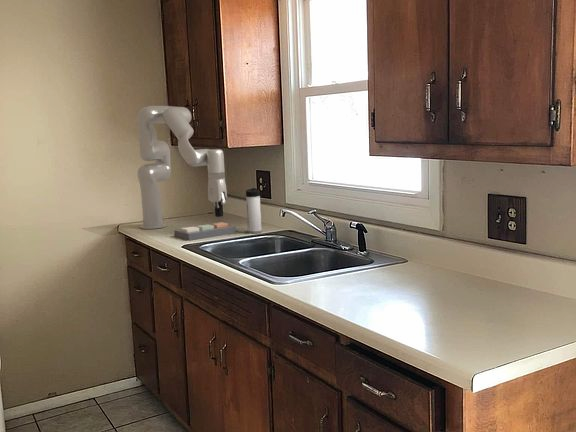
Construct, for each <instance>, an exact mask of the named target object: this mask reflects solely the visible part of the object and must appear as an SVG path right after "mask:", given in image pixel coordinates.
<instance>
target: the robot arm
mask: <svg viewBox="0 0 576 432" xmlns="http://www.w3.org/2000/svg"><path fill="white" fill-rule="evenodd" d="M191 121H192V113H191V111H190V110H189V109H188V108H187V107H184V106H172V105H148V106H144V107H142V108H140V110H139V111H138V112H137V115H136V124H137V125H136V126H137V130H138V141H139V143H138V147H139V156H140V159H141V160H143V161H145V162H149V161H150V162H151V163H145V164H142V165H140V167H138V169H137V174H136V175H137V179H138V183H139V187H140V197H141V209H142V223H143V224H141V225H140V229H142V230H155V229H156V230H157V229H161V228H162V229H163V228H166V227H167V223H165V222H164V221H163V220H164V219H163V205H162V192H161V188H160V186H159V184H158V183H161V182H165V181H168V180H169V179H170V177H171V172H172V170H171V167H172V166H171V164H172V163H171V162H172V161H171V149H170V147H169V144H168V143H167V142H166V141H163V140H158V138H157V137H158V136H157V130H156V128H155V126H154V125H155V124H166V125H167V126H168V128H169V129H170V131H171V132H172V134H174V136H175V137H176V138H177V146H178V152H179V154H180V155H181V157H182V158H183V159H184V161H185V162H186V163H187V164H188V165H189V166H191V167H205V166H207V173H208V175H207V176H208V182H207V199H208V201H209V202H211V203H212V204H213V208H214V214H215V217H217V218H219V217H223V216H224V211H223V210H224V205H225V204H226V203H227V202H226V201H227V200H228V194H227V193H228V192H227V191H228V190H227V183H226V172H225V171H226V170H225V158H224V157H225V156H224V151H223V149H219V148H217V149H216V148H215V149H209V148H202V149H201V148H200V149H194V147H193V146H192V145H191V143H190V141H189V139H191V137H192V136H193V134H194V132H195V131H194V128H193V127H192V126H191V124H190V122H191ZM152 161H155V162H152Z"/></svg>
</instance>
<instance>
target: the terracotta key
mask: <svg viewBox="0 0 576 432" xmlns="http://www.w3.org/2000/svg"><path fill="white" fill-rule="evenodd" d="M209 225H213V226H214V228H221V227H227V226H228V225H229V223H228V222H222V221H221V222H214V223H210V224H209Z"/></svg>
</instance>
